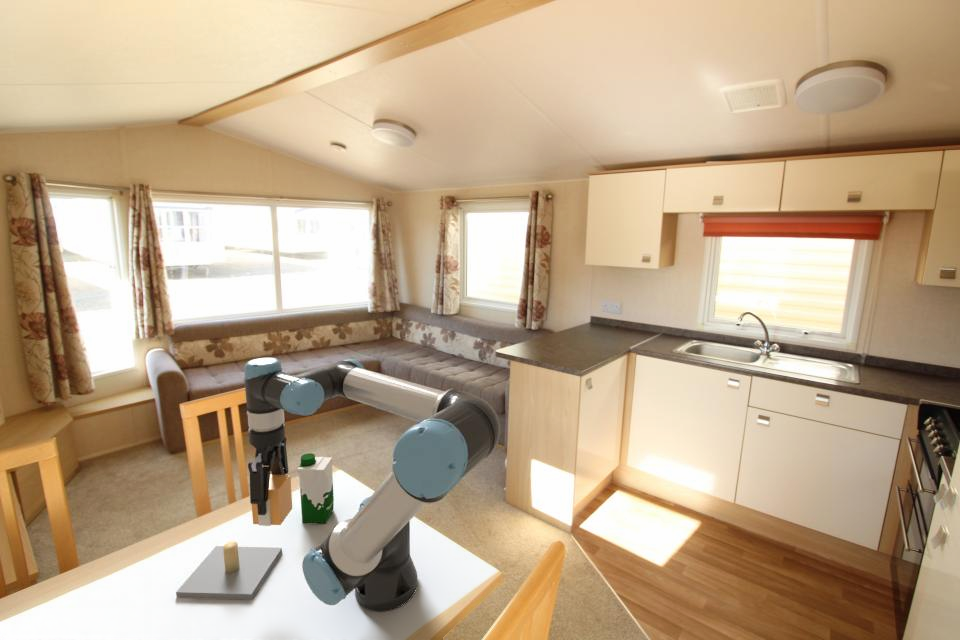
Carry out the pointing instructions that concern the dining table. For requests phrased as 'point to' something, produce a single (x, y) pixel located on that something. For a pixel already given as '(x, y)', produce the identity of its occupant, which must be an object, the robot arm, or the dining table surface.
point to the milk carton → (316, 488)
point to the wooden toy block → (277, 499)
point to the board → (230, 573)
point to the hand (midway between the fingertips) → (272, 514)
